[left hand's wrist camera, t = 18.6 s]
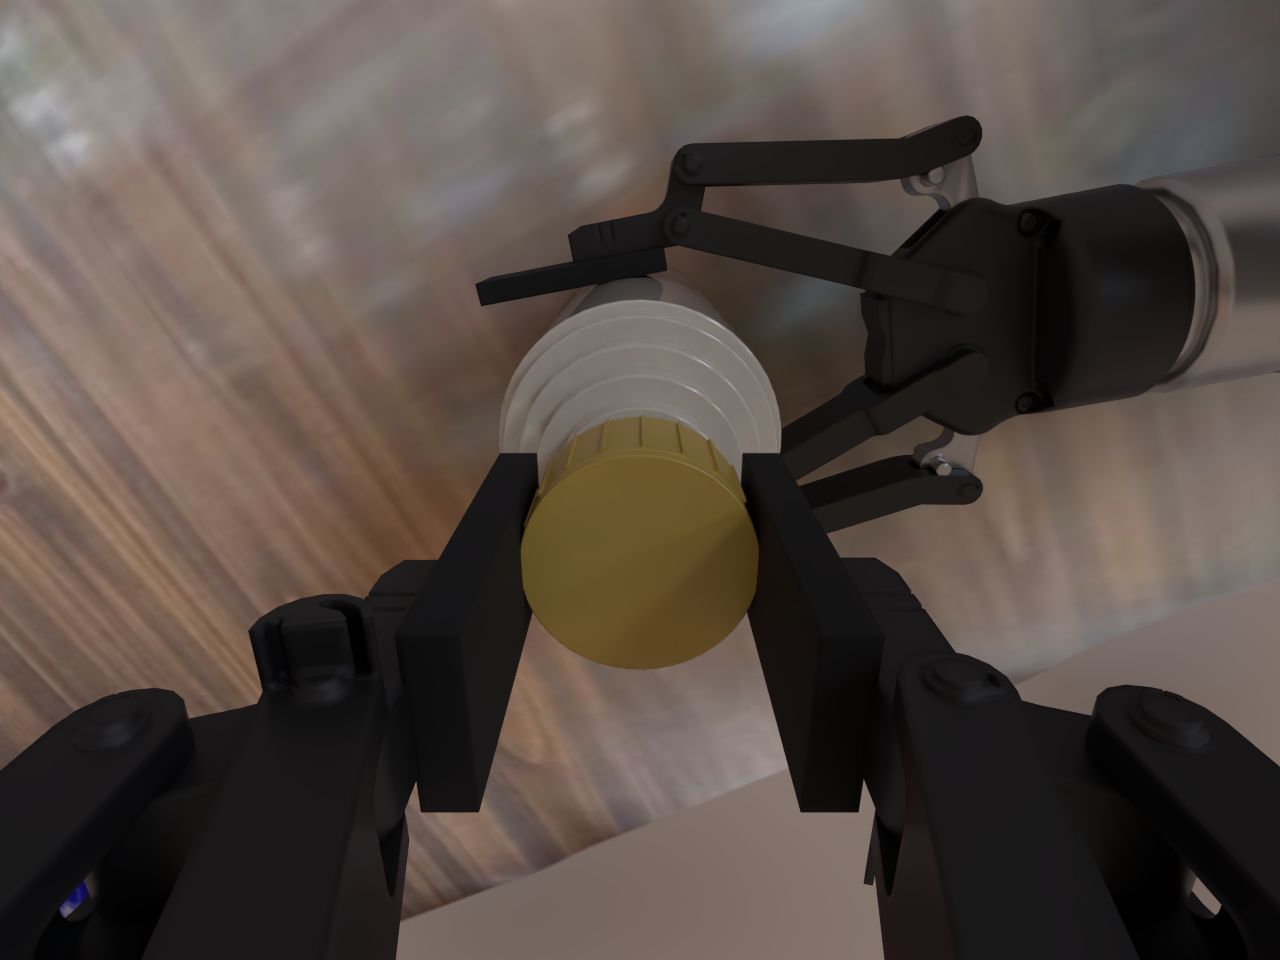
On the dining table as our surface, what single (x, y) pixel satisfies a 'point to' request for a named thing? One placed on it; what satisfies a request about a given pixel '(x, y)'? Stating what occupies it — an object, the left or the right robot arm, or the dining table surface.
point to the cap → (639, 545)
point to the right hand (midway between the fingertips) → (515, 403)
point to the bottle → (640, 372)
